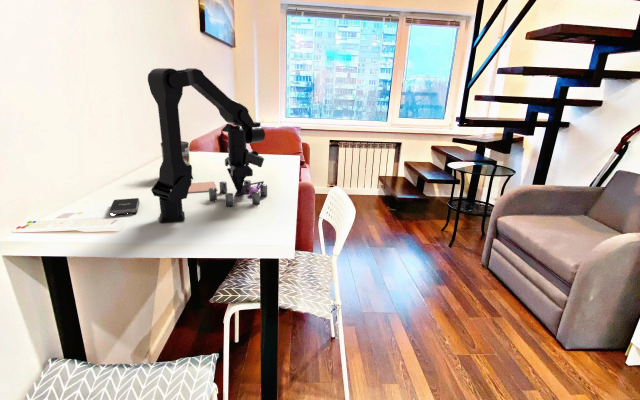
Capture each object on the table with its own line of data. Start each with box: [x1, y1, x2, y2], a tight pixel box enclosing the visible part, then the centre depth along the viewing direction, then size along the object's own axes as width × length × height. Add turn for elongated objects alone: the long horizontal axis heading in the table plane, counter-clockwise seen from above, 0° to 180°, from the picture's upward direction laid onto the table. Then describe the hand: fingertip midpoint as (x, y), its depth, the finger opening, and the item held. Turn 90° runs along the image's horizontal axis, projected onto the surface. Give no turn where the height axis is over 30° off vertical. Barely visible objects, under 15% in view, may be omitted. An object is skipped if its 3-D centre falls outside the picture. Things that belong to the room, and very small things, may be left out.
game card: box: [234, 180, 264, 197], centre depth 121 cm, size 7×5×9 cm
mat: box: [188, 181, 218, 194], centre depth 128 cm, size 12×10×1 cm
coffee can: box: [160, 140, 191, 165], centre depth 140 cm, size 10×10×14 cm
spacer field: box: [208, 179, 268, 208], centre depth 118 cm, size 17×19×4 cm
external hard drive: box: [108, 197, 140, 216], centre depth 104 cm, size 7×11×2 cm, turn 23°
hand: (238, 191), depth 117 cm, fingers closed on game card, 3 cm apart
